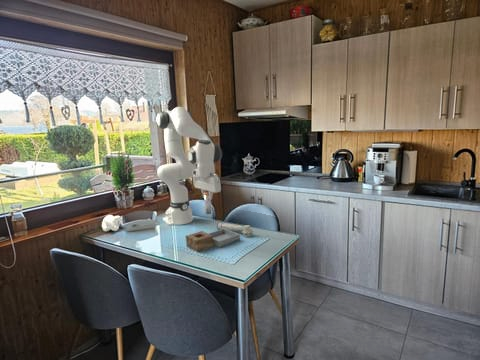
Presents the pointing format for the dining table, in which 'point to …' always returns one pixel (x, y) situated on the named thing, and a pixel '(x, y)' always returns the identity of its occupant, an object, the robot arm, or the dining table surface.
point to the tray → (224, 237)
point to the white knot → (111, 223)
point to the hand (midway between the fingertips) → (207, 198)
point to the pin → (207, 203)
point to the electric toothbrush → (236, 228)
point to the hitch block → (199, 241)
